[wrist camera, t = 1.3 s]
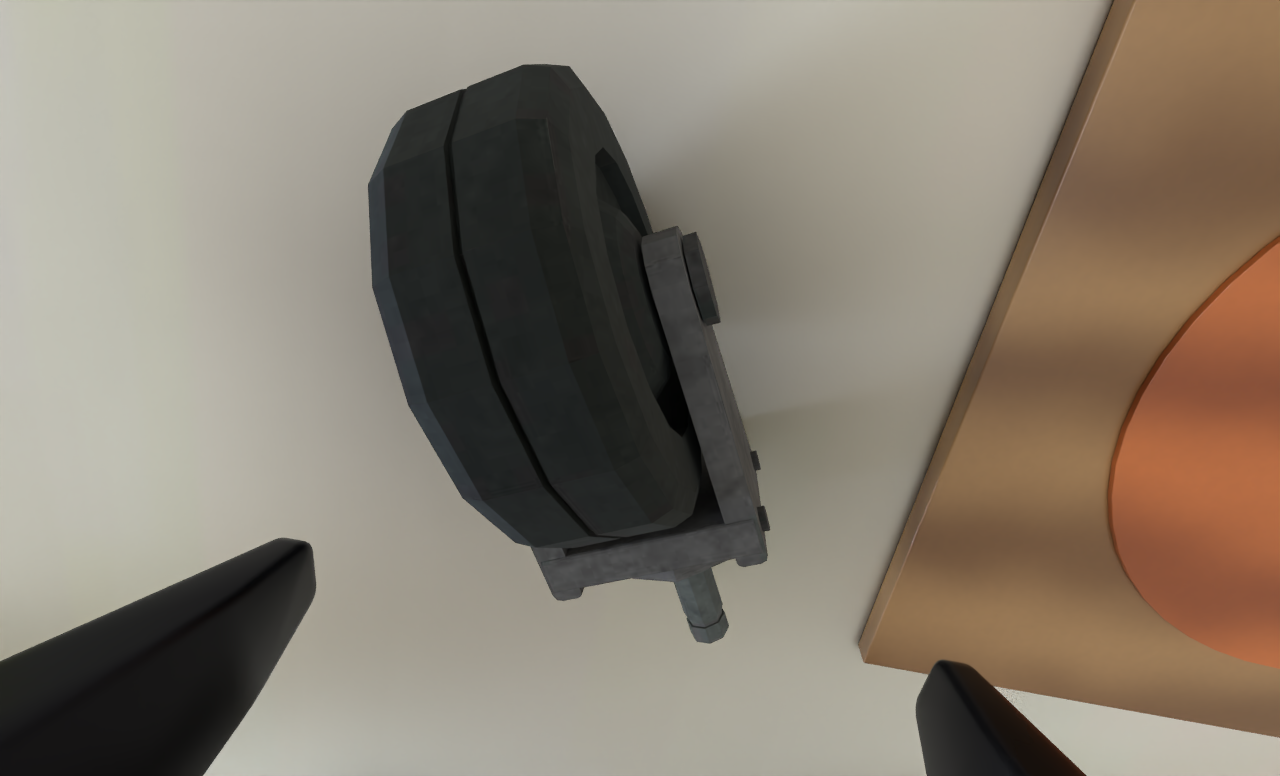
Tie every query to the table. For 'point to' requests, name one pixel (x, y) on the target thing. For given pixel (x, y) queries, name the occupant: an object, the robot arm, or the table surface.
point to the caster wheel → (562, 342)
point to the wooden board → (1123, 401)
